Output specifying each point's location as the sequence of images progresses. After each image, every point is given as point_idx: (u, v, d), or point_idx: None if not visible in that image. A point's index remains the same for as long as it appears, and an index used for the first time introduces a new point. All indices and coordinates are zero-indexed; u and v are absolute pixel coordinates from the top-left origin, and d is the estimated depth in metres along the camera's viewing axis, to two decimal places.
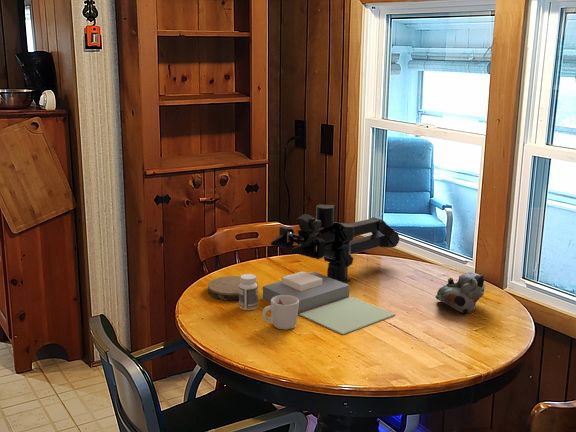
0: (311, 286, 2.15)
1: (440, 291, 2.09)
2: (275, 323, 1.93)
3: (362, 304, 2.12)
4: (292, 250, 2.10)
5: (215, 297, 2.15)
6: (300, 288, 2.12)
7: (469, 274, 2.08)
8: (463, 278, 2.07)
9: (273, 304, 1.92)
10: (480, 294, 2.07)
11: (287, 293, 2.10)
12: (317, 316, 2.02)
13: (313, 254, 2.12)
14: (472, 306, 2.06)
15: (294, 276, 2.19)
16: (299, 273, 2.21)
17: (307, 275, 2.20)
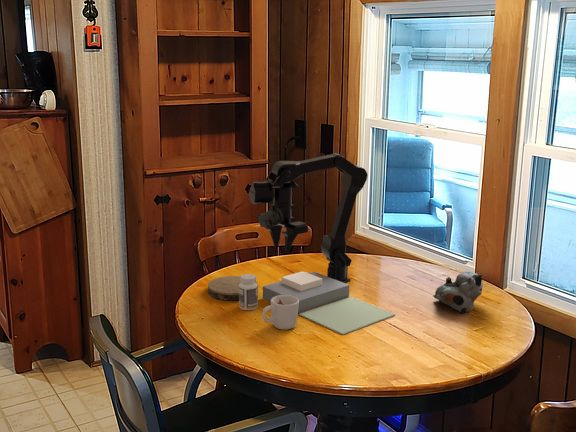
0: (311, 286, 2.15)
1: (438, 290, 2.10)
2: (275, 323, 1.93)
3: (362, 304, 2.12)
4: (287, 250, 2.21)
5: (215, 297, 2.15)
6: (300, 288, 2.12)
7: (467, 273, 2.09)
8: (461, 277, 2.07)
9: (273, 304, 1.92)
10: (478, 293, 2.08)
11: (287, 293, 2.10)
12: (317, 316, 2.02)
13: None
14: (470, 305, 2.07)
15: (294, 276, 2.19)
16: (299, 273, 2.21)
17: (307, 275, 2.20)
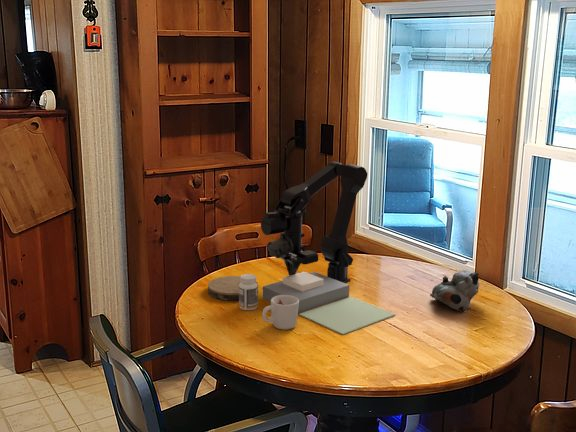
0: (312, 286, 2.14)
1: (435, 289, 2.11)
2: (275, 323, 1.93)
3: (362, 304, 2.12)
4: None
5: (215, 297, 2.15)
6: (301, 288, 2.12)
7: (464, 272, 2.10)
8: (458, 276, 2.08)
9: (273, 304, 1.92)
10: (475, 292, 2.09)
11: (287, 293, 2.10)
12: (317, 316, 2.02)
13: None
14: (467, 304, 2.08)
15: (295, 276, 2.18)
16: (300, 273, 2.21)
17: (308, 275, 2.19)
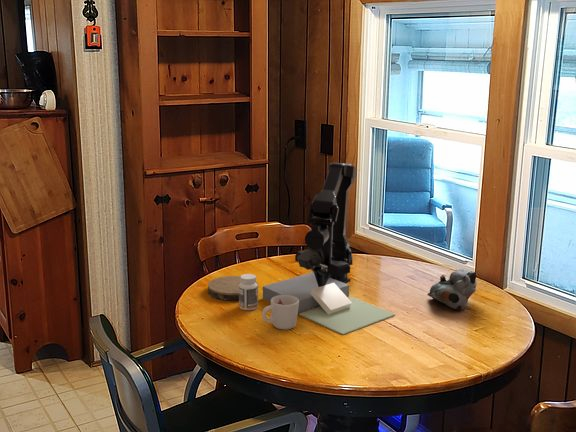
0: (339, 310, 2.06)
1: (433, 289, 2.11)
2: (275, 323, 1.93)
3: (362, 304, 2.12)
4: None
5: (215, 297, 2.15)
6: (328, 312, 2.03)
7: (461, 271, 2.11)
8: (456, 275, 2.09)
9: (273, 304, 1.92)
10: (472, 290, 2.10)
11: (287, 293, 2.10)
12: (317, 316, 2.02)
13: None
14: (465, 303, 2.09)
15: (325, 291, 2.08)
16: (330, 286, 2.11)
17: (337, 292, 2.10)
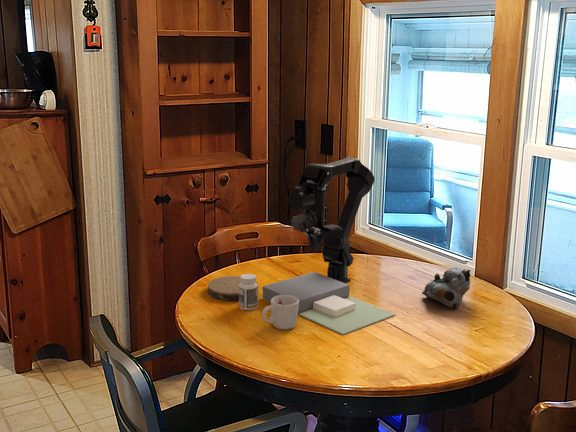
0: (345, 311, 2.05)
1: (428, 287, 2.12)
2: (275, 323, 1.93)
3: (362, 304, 2.12)
4: (315, 251, 2.20)
5: (215, 297, 2.15)
6: (334, 314, 2.02)
7: (455, 269, 2.13)
8: (450, 273, 2.11)
9: (273, 304, 1.92)
10: (467, 288, 2.12)
11: (287, 293, 2.10)
12: (317, 316, 2.02)
13: None
14: (460, 300, 2.11)
15: (326, 301, 2.09)
16: (330, 297, 2.12)
17: (339, 299, 2.10)
